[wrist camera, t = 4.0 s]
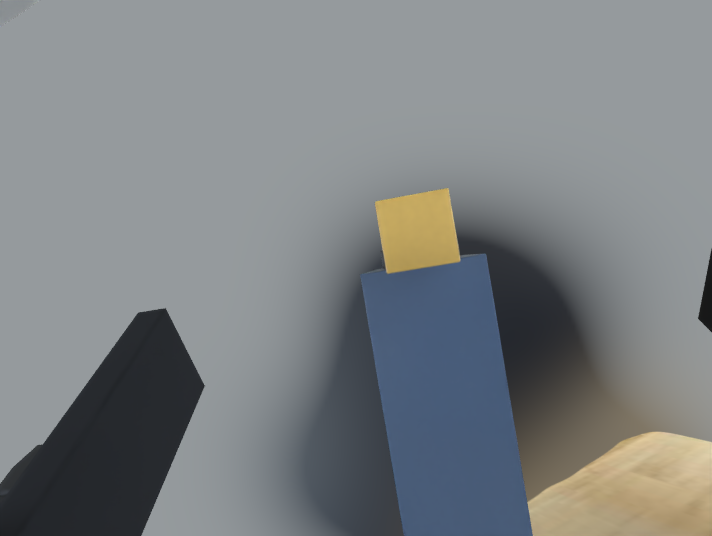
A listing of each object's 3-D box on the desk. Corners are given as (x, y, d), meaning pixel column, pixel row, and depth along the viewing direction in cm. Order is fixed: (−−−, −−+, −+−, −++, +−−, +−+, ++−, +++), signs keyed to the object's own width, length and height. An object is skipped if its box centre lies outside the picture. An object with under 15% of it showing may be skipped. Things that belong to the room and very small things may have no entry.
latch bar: (460, 261, 19) (448, 187, 19) (386, 274, 19) (374, 201, 19) (436, 259, 45) (431, 227, 45) (405, 264, 45) (400, 233, 45)
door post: (565, 729, 29) (482, 229, 29) (436, 733, 30) (356, 251, 30) (523, 593, 41) (463, 237, 41) (431, 599, 42) (373, 253, 42)
